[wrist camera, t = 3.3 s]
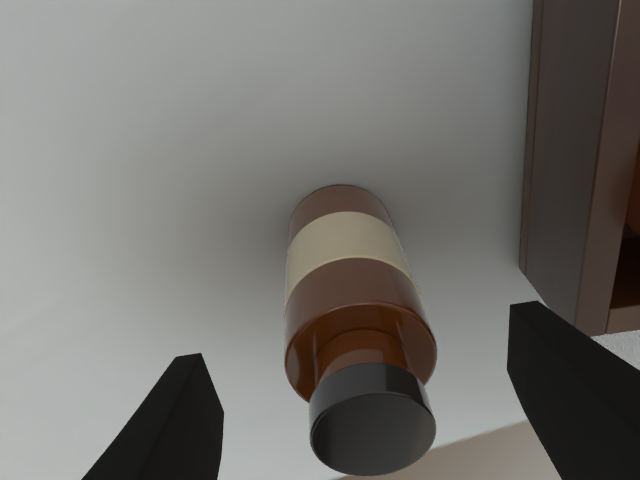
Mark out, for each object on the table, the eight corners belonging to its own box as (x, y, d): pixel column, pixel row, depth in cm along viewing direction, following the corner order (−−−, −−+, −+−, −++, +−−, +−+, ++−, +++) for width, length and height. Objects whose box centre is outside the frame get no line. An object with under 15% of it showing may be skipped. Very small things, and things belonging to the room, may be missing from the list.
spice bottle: (386, 174, 16) (467, 354, 8) (396, 266, 17) (467, 481, 10) (277, 192, 16) (259, 385, 8) (297, 282, 18) (297, 505, 10)
